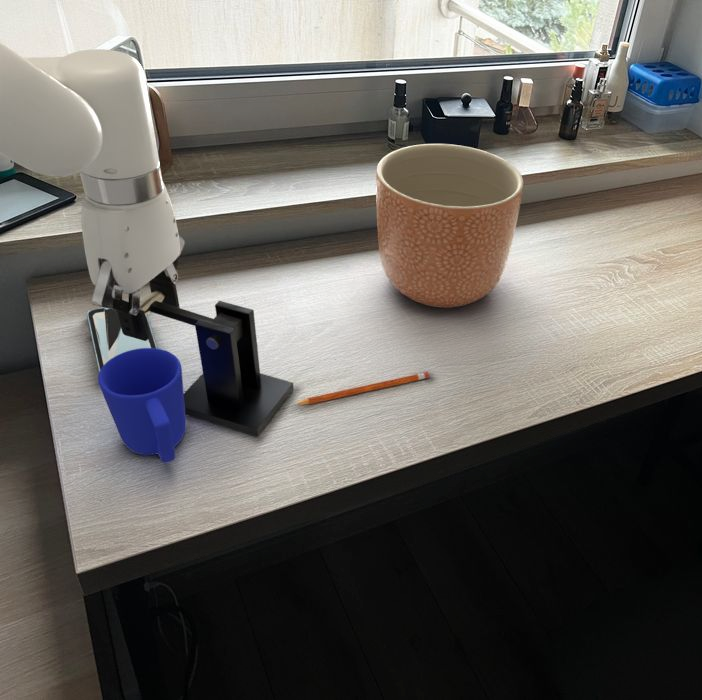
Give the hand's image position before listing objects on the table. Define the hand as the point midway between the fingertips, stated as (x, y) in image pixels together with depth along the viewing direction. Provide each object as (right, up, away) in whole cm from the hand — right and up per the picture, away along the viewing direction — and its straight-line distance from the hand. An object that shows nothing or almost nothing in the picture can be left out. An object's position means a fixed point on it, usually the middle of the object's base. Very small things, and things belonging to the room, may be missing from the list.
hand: (152, 321), depth 85 cm
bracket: (+9, -10, +4) cm, 13 cm away
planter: (+33, +7, +28) cm, 44 cm away
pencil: (+24, -9, +8) cm, 27 cm away
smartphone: (-8, -2, +10) cm, 13 cm away
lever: (+5, -1, -1) cm, 5 cm away
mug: (+2, -15, -3) cm, 15 cm away
